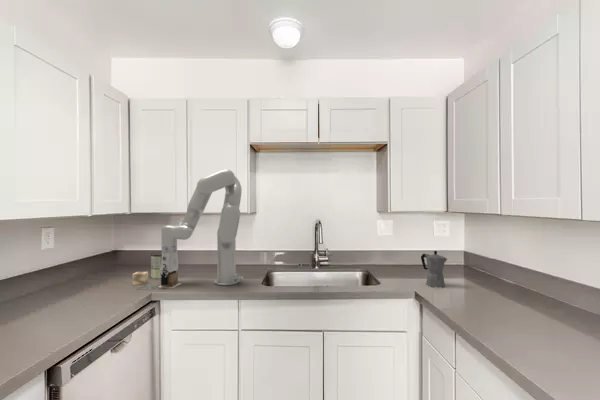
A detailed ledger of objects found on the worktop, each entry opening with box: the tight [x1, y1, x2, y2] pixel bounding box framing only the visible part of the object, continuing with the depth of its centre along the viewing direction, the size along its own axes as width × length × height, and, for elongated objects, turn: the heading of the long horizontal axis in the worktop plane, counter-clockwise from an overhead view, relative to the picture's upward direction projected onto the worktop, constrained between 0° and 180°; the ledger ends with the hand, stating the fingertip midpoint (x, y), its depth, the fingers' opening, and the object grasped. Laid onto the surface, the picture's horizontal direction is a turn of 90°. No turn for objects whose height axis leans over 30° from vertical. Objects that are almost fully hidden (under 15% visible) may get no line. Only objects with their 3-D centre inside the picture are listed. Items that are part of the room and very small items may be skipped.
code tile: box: [158, 282, 182, 289], centre depth 175 cm, size 9×9×1 cm
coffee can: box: [150, 251, 162, 280], centre depth 193 cm, size 10×10×14 cm
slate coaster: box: [135, 284, 160, 291], centre depth 170 cm, size 8×8×1 cm
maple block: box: [132, 271, 149, 286], centre depth 179 cm, size 6×6×6 cm
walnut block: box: [160, 271, 179, 288], centre depth 175 cm, size 6×6×6 cm
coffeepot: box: [420, 250, 448, 288], centre depth 178 cm, size 15×9×18 cm, turn 33°
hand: (169, 282), depth 175 cm, fingers open, 9 cm apart
